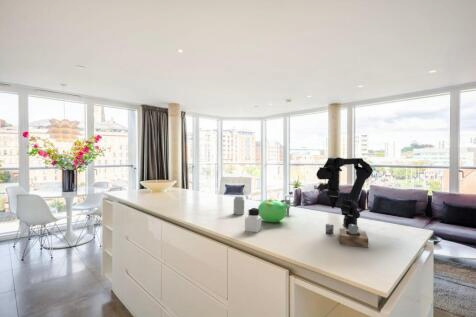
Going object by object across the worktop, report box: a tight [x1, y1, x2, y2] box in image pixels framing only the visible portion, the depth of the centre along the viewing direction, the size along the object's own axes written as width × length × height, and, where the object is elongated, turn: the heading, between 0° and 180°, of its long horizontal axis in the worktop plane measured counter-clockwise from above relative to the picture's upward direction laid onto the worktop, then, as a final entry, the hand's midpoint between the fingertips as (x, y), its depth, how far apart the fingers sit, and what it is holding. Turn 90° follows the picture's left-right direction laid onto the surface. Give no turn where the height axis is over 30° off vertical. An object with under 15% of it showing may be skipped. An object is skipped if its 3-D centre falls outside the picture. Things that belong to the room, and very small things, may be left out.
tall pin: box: [348, 224, 359, 236], centre depth 118 cm, size 4×4×8 cm
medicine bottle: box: [244, 207, 262, 233], centre depth 133 cm, size 7×7×12 cm
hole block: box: [338, 228, 369, 248], centre depth 118 cm, size 12×12×4 cm
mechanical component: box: [280, 199, 296, 215], centre depth 172 cm, size 3×10×10 cm, turn 78°
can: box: [233, 196, 245, 216], centre depth 170 cm, size 8×8×12 cm
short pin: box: [325, 223, 335, 235], centre depth 130 cm, size 4×4×4 cm
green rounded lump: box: [257, 197, 291, 223], centre depth 151 cm, size 18×17×15 cm
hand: (333, 206), depth 137 cm, fingers open, 9 cm apart
